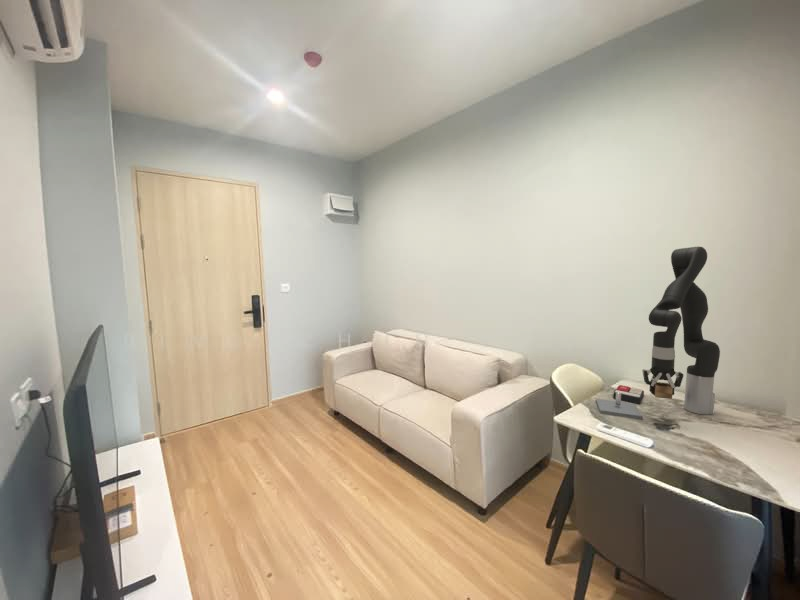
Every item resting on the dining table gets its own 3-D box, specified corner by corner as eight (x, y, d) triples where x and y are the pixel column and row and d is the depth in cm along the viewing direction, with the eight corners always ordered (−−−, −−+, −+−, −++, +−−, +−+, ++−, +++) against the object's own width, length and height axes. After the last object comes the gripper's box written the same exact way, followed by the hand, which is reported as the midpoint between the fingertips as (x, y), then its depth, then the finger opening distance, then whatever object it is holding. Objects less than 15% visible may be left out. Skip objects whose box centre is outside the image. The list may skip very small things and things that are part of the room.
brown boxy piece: (667, 394, 140) (667, 382, 139) (672, 399, 135) (672, 387, 134) (651, 392, 142) (651, 381, 142) (655, 397, 137) (656, 386, 137)
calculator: (644, 389, 165) (640, 396, 154) (643, 397, 166) (640, 405, 155) (618, 384, 173) (613, 390, 162) (618, 391, 173) (613, 399, 162)
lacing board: (634, 406, 153) (634, 403, 152) (642, 419, 140) (642, 416, 140) (595, 401, 159) (595, 398, 159) (599, 413, 147) (600, 410, 146)
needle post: (620, 404, 150) (620, 391, 149) (620, 405, 148) (621, 393, 147) (615, 403, 151) (615, 391, 150) (615, 405, 149) (616, 392, 148)
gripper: (680, 355, 137) (678, 393, 139) (640, 353, 143) (638, 389, 145) (688, 360, 131) (686, 400, 132) (645, 357, 136) (643, 395, 138)
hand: (661, 394), depth 139 cm, fingers closed on brown boxy piece, 5 cm apart
